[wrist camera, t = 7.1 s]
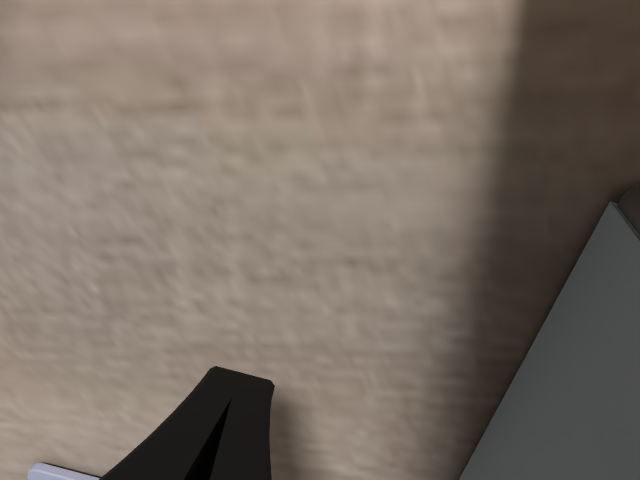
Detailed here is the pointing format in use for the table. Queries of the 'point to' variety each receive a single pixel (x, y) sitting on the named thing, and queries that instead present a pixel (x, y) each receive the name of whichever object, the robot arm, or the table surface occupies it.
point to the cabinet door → (578, 372)
